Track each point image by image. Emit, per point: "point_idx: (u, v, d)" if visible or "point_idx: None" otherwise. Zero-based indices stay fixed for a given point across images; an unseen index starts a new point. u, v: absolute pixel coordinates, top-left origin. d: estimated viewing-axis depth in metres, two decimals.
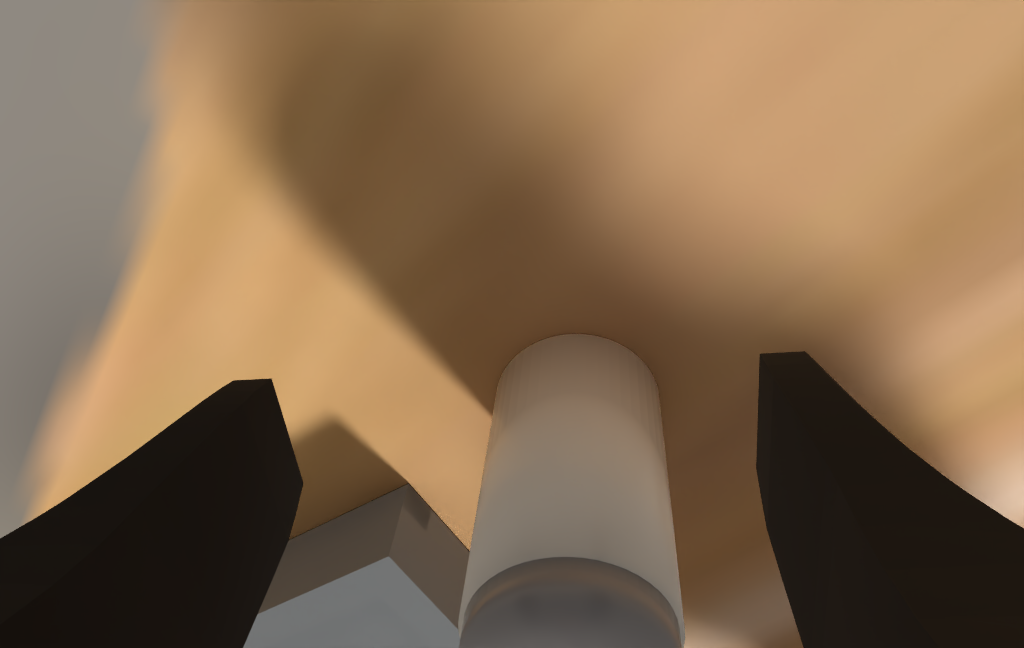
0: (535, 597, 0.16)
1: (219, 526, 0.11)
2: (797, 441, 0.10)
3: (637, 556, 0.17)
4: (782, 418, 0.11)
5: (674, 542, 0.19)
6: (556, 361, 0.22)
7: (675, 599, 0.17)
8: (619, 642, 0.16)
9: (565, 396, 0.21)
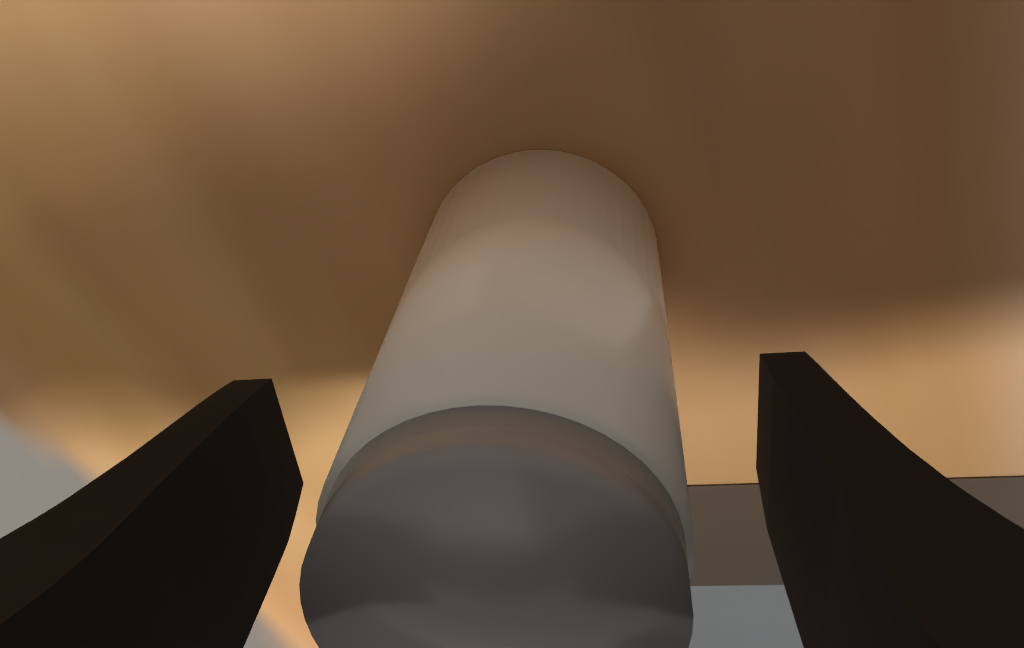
0: None
1: (219, 526, 0.11)
2: (797, 441, 0.10)
3: (403, 396, 0.10)
4: (782, 418, 0.11)
5: (551, 306, 0.11)
6: None
7: (497, 391, 0.10)
8: (437, 529, 0.09)
9: None
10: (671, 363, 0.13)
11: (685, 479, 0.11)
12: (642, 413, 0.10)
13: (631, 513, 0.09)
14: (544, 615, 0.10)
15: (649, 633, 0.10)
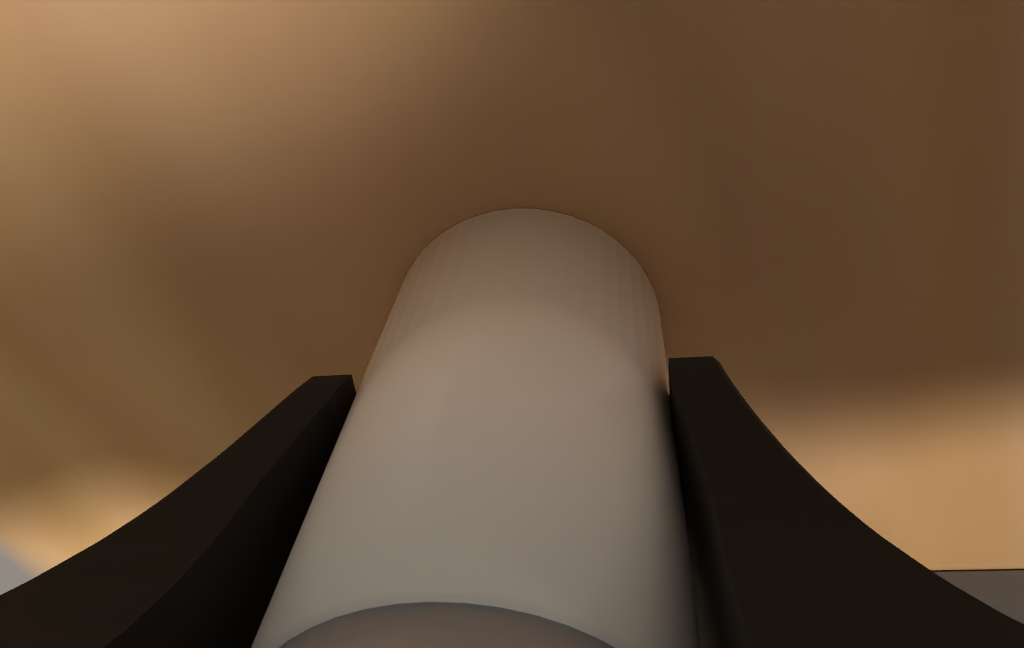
0: None
1: None
2: (688, 445, 0.10)
3: (334, 577, 0.08)
4: (679, 422, 0.11)
5: (531, 437, 0.09)
6: None
7: (456, 581, 0.07)
8: None
9: None
10: (680, 485, 0.11)
11: None
12: (648, 592, 0.08)
13: None
14: None
15: None
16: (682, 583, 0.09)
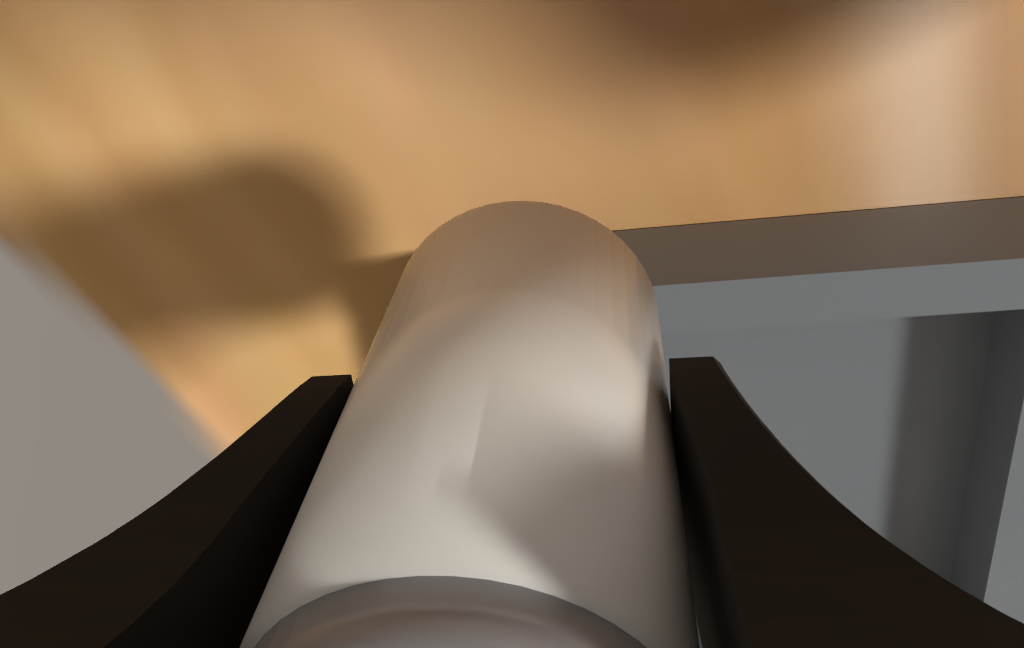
0: None
1: None
2: (689, 445, 0.10)
3: (325, 556, 0.08)
4: (680, 422, 0.11)
5: (521, 418, 0.09)
6: None
7: (444, 555, 0.07)
8: None
9: None
10: (675, 467, 0.11)
11: (696, 641, 0.08)
12: (639, 565, 0.08)
13: None
14: None
15: None
16: (675, 559, 0.09)
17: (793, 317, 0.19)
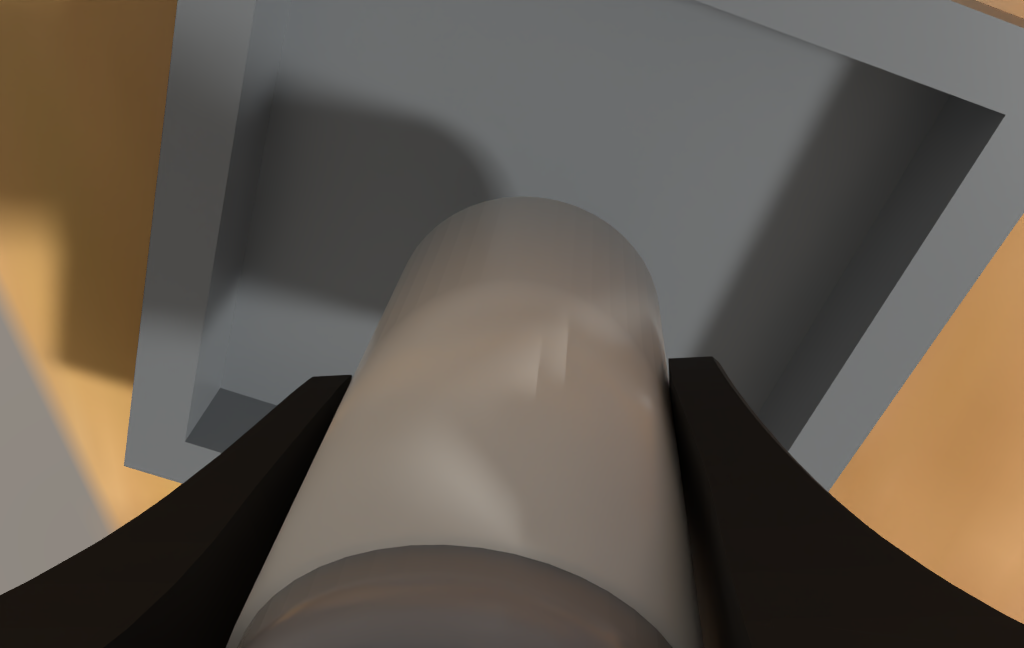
0: None
1: None
2: (688, 445, 0.10)
3: (319, 531, 0.08)
4: (679, 422, 0.11)
5: (516, 396, 0.09)
6: None
7: (436, 524, 0.07)
8: None
9: None
10: (676, 450, 0.11)
11: (696, 616, 0.08)
12: (634, 537, 0.08)
13: None
14: None
15: None
16: (674, 535, 0.09)
17: None
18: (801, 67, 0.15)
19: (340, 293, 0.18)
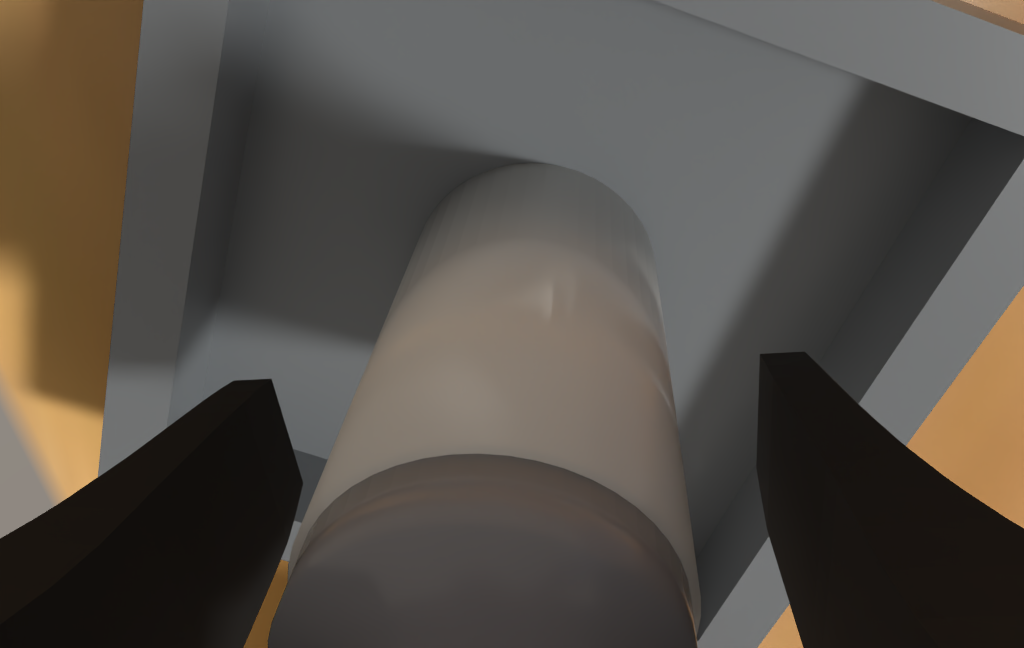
0: None
1: (219, 526, 0.11)
2: (797, 441, 0.10)
3: (371, 446, 0.09)
4: (782, 418, 0.11)
5: (533, 336, 0.10)
6: None
7: (471, 437, 0.09)
8: (410, 596, 0.08)
9: None
10: (670, 387, 0.12)
11: (687, 519, 0.10)
12: (635, 451, 0.09)
13: (623, 570, 0.08)
14: None
15: None
16: (668, 453, 0.10)
17: (719, 9, 0.12)
18: (813, 86, 0.14)
19: (323, 322, 0.17)
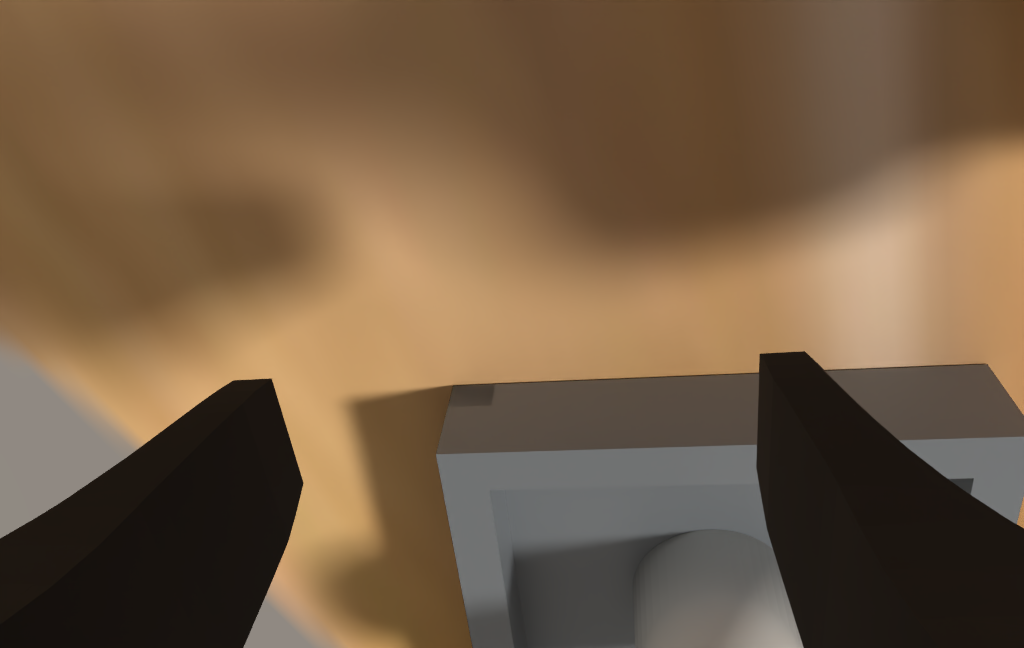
0: None
1: (218, 526, 0.11)
2: (797, 441, 0.10)
3: None
4: (782, 418, 0.11)
5: None
6: None
7: None
8: None
9: None
10: None
11: None
12: None
13: None
14: None
15: None
16: None
17: (756, 478, 0.21)
18: None
19: (593, 642, 0.27)
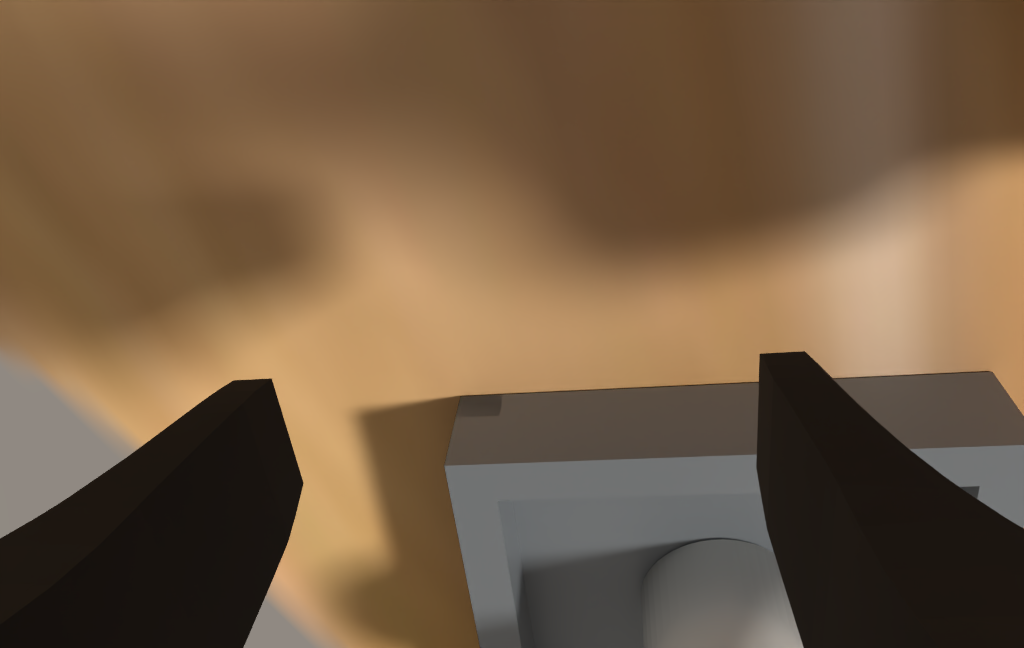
0: None
1: (218, 526, 0.11)
2: (797, 441, 0.10)
3: None
4: (782, 418, 0.11)
5: None
6: None
7: None
8: None
9: None
10: None
11: None
12: None
13: None
14: None
15: None
16: None
17: None
18: None
19: None
